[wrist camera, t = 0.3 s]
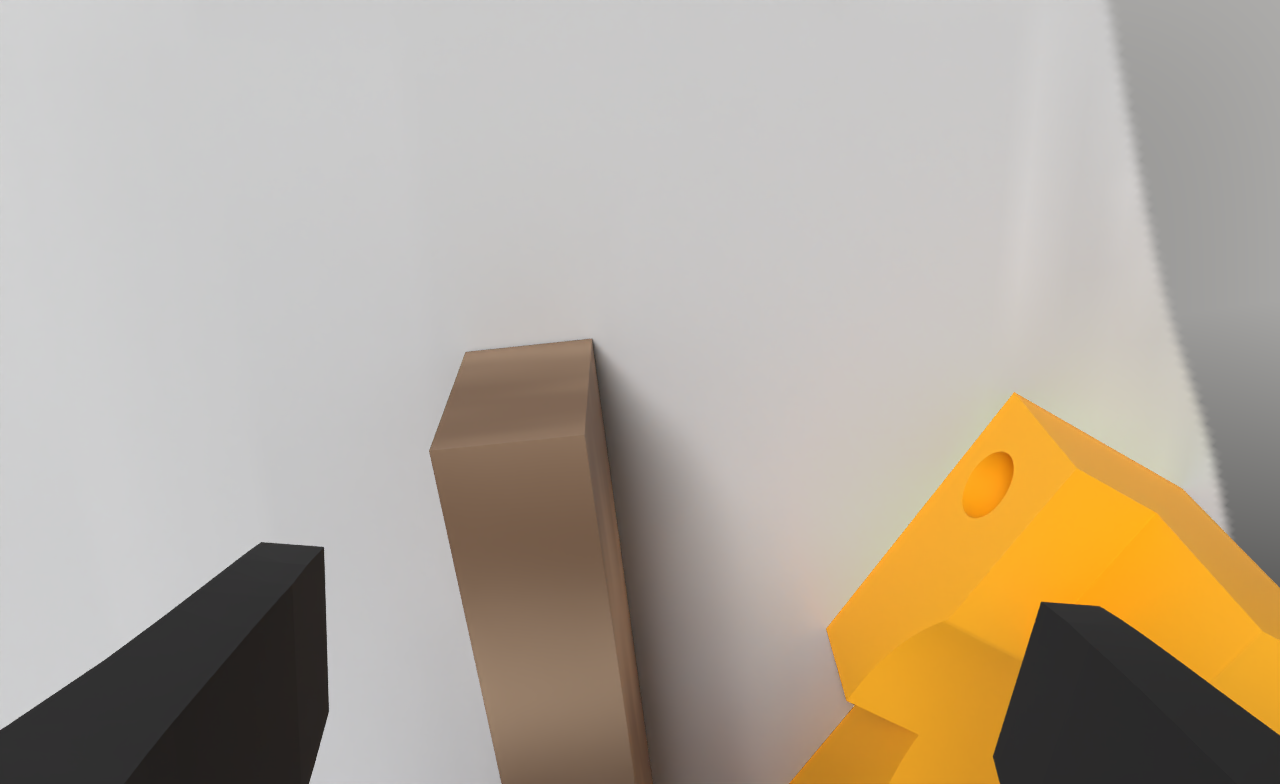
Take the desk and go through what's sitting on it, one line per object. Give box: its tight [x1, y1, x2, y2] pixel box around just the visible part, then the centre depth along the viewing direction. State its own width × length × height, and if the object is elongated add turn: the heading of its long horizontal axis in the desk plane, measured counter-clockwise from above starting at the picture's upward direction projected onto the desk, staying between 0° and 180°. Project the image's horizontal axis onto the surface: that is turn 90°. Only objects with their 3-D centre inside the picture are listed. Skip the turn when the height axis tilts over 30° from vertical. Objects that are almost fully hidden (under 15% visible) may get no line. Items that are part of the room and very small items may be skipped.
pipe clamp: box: [789, 392, 1280, 784], centre depth 20 cm, size 12×4×6 cm, turn 150°
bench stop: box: [429, 339, 653, 784], centre depth 21 cm, size 16×2×4 cm, turn 6°
